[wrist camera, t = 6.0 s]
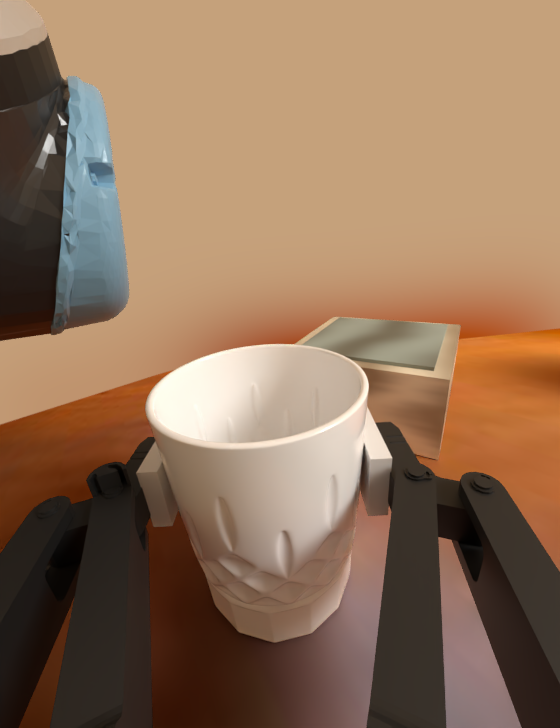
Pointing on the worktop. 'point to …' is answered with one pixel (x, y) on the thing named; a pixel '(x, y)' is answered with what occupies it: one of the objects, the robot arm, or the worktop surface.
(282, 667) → the worktop surface
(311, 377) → the white cup
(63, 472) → the worktop surface
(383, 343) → the stand
